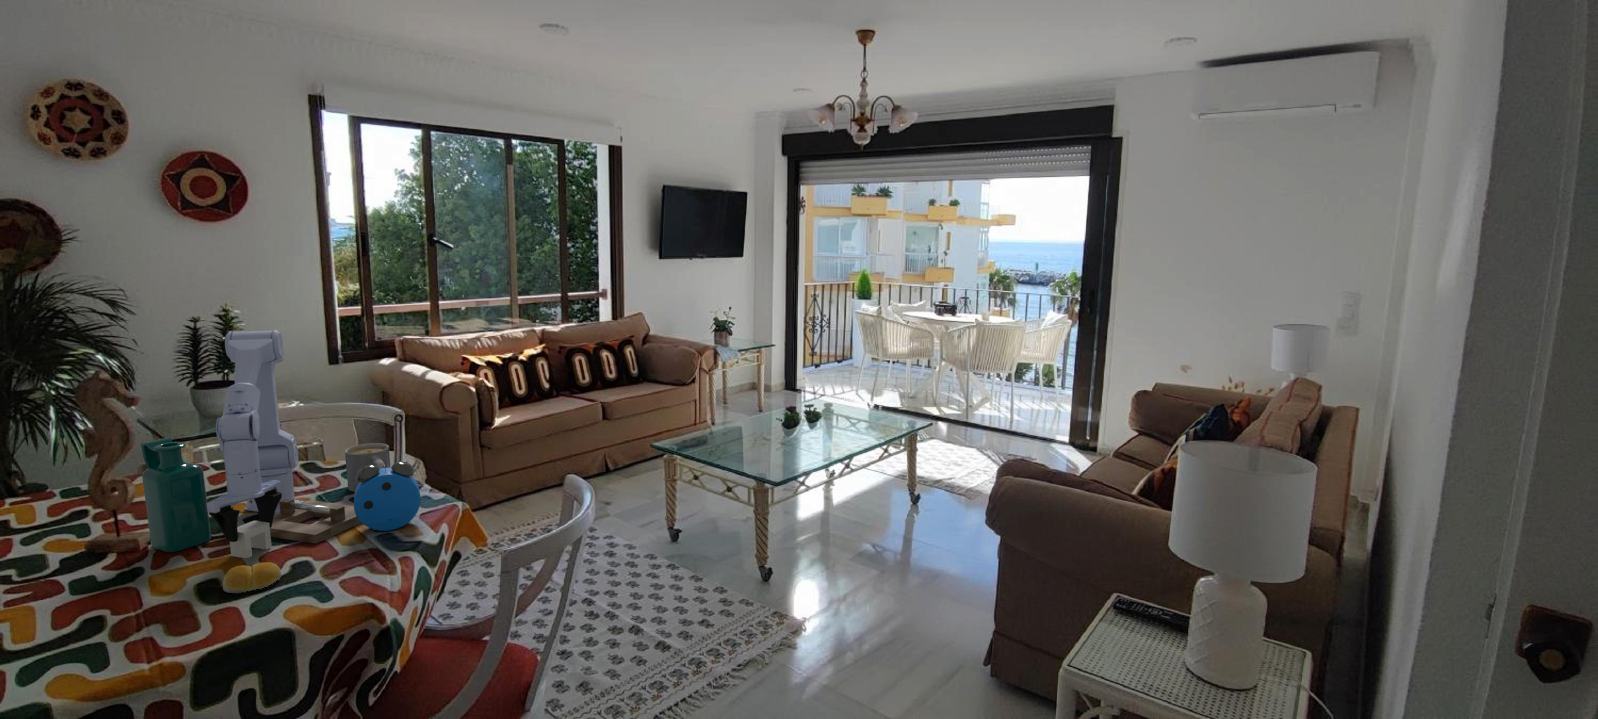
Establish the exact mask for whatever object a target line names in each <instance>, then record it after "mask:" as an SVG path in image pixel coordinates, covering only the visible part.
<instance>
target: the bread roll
mask: <svg viewBox="0 0 1598 719" xmlns="http://www.w3.org/2000/svg"><path fill="white" fill-rule="evenodd" d="M281 577H282V571H281V568H280V566H278V565H277V564H276V563H274V562H271V561H270V562H269V561H268V562H267V561H266V562H259V563H258V562H257V563H255V564H253V565H252V566H250V565H244V564H243V565H242V564H241V565H236V566H234V567H232V568H230V569H229V570H228V571H227V572H226V574H225V575H224V577H223V581H222V582H223V583H222V589H223V592H225V593H229V594H241V593H242V592H243V593H247V591H248V592H251V591H257V590H256V589H260V590H262V588H264V587H267V588H269V587H270V586H269V585H271V584H272V585H274V584H275V583H277V582H278V581H280V579H281ZM277 580H278V581H277ZM276 581H277V582H276ZM274 582H275V583H274ZM273 583H274V584H273ZM272 585H271V586H272ZM268 586H269V587H268ZM264 589H265V588H264Z"/></svg>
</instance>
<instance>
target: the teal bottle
mask: <svg viewBox="0 0 1598 719" xmlns="http://www.w3.org/2000/svg"><path fill="white" fill-rule="evenodd" d="M140 446H141V447H140V448H141V451H142V457H143V461H144V464H145V466H146V470H144V471H143V473H142V476H141V478H142V485H143V486H142V487H143V492H144V500H145V508H146V515H147V516H146V517H147V524H148V530H149V538H150V545H151V547H152V548H155V549H157V550H159V551H163V552H166V553H176V552H181V551H183V550H184V551H185V550H187V549H190V548H193V547H195V546H198V545H201V544H205V543H207V542H209V541H210V540H211V539H212V533H211V524H210V514H209V512H208V511H207V503H208V499H207V490H206V481H205V474H204V470H203V467H202V466H201V465H200V464H197V463H193V462H189V461H185V460H184V459H183V454H182V453H183V452H182V449H184V448H185V447H187V444H186V442H184V441H173V439H172V437H164V438H159V439H155V440H150V441H145V442H141V444H140Z"/></svg>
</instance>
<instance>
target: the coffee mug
mask: <svg viewBox="0 0 1598 719" xmlns="http://www.w3.org/2000/svg"><path fill="white" fill-rule="evenodd" d="M344 455H345V456H344V457H345V470H346V480H347V489H348V491H350V492H354V493H355V490H356V488H357V486H358V484H359V482H358V481H357V478H356V476H357V473H358V472H359V470H360V469H361V468H362V467H365V466H367V465H376V466H378V467H379V468H380V469H382V468H385V467H383V466H387V465H388V467H386V468H391V467H392V466H391V457H390V456H391V454H390V445H388V444H386V443H380V442H379V443H378V442H377V443H376V442H375V443H374V442H372V443H362V444H358V445H357V444H356V445H353V446H350V447H348V448H346V449H345V451H344Z"/></svg>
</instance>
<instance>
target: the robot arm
mask: <svg viewBox="0 0 1598 719" xmlns="http://www.w3.org/2000/svg"><path fill="white" fill-rule="evenodd" d="M281 333H282V332H279V330H278V329H274V330H251V331H249V330H247V331H232V330H230V331H228V332H227V333H226V335H225V337H224V347H225V354H226V355H227V357H228V358H229V359H230V362H231V363H235V364H234V366H235V367H234V384H232V385H231V386H228V388H227V389H226V394H225V400H224V406H223V412H222V415H221V416H219V417H217V419H216V423H215V432H216V437H217V438H216V439H217V440H218V444H219V448H220V452H222V453H223V462H224V470H225V481H226V490H227V492H226V493H224V494H223V495H220V496H218V497H217V498H214V499H212V500H210V501H207V511H208V514H209V516H210V517H211V518H212V519H214V520H215V522H216V523H217V525H218V526H219V527H220V530H221V531H222V533H223V535H224V538H225V541H226V542H229V543H230V542H236V541H238V530H237V527H238V522H239V521H238V520H239V515H240V513H241V510H238V509H234V507H233V506H235V505H238V504H241V503H243V502H246V504H247V505H246V507H244V510H245V511H250V512H258V518H259V520H260V522H267V523H269V526H270V527H272V523H273V518H274V515H275V514H277V513H280V505H279V501H282V500H285V499H294V502H295V503H302V504H303V503H305V501H304V500H299V499H295V490H294V488H295V487H294V480H293V479H294V478H293V470H294V469H296V468H297V466H298V464H299V448H298V445H297V441H296V437H295V436H294V435H293V434H291V433H289V432H286V431H284V430H283V429H281V422H280V412H279V402H278V393H277V383H276V374H275V368H276V365H277V364H279V363H282V362H283V361H284V358H285V353H284V352H285V351H284V344H283V343H284V342H283V337H282V334H281Z"/></svg>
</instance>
